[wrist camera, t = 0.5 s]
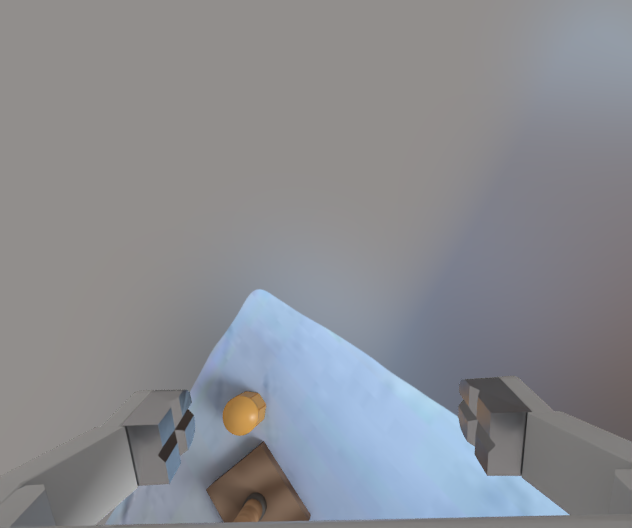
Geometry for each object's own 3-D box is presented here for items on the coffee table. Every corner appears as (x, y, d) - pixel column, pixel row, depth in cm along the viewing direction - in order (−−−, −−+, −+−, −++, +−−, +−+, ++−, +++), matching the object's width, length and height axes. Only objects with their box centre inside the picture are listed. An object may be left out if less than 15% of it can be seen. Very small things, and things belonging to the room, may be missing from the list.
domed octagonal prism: (272, 412, 58) (264, 419, 53) (245, 434, 57) (235, 443, 53) (253, 384, 59) (244, 388, 54) (227, 405, 59) (216, 411, 54)
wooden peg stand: (310, 514, 53) (301, 549, 44) (254, 561, 53) (234, 606, 44) (263, 441, 57) (246, 460, 48) (211, 484, 56) (184, 511, 48)
